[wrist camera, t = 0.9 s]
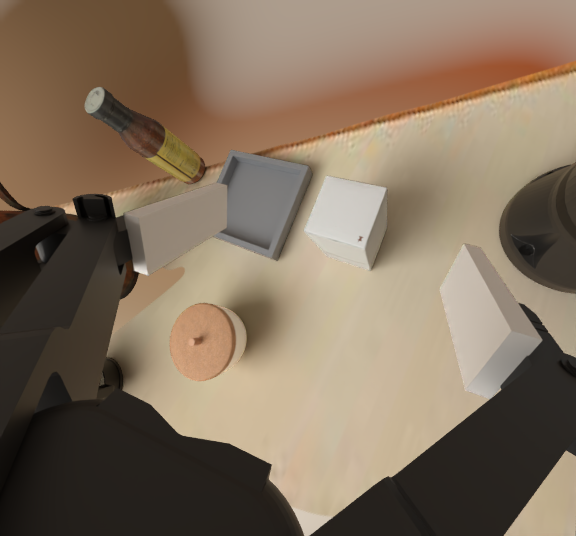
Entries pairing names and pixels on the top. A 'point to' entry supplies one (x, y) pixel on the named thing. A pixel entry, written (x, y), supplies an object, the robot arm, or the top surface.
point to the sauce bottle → (146, 137)
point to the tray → (261, 201)
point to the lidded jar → (207, 341)
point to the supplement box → (349, 221)
